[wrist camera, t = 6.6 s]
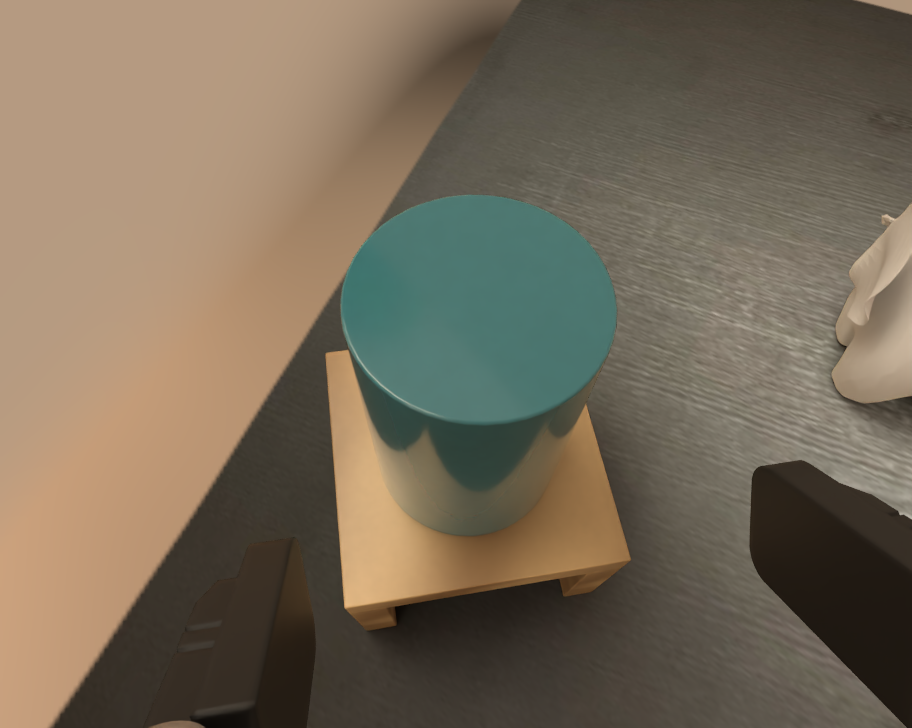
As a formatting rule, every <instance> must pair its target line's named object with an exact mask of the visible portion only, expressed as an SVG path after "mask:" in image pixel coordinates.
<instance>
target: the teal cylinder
mask: <svg viewBox="0 0 912 728" xmlns="http://www.w3.org/2000/svg"><path fill="white" fill-rule="evenodd" d="M340 316H341V322H342V328H343V333H344V337H345V341H346V344H347V348H348V352H349V356H350V359H351V363H352V367H353V371H354V374H355V378H356V382H357V386H358V389H359V393H360V397H361V401H362V404H363V408H364V412H365V416H366V419H367V423H368V427H369V431H370V434H371V438H372V442H373V446H374V449H375V453H376V457H377V461H378V464H379V468H380V472H381V475H382V478H383V481H384V483H385V485H386V487H387V489H388V491H389V493H390V495H391V496H392V498H393V499H394V500H395V502H396V503H397V504H398V505H399V506H400V507H401V509H402V510H403V511H404V512H406V513H407V514H408V515H409V516H410V517H411V518H413V519H414V520H416V521H417V522H419V523H421V524H422V525H424V526H426V527H428V528H431V529H433V530H435V531H439V532H442V533H445V534H450V535H456V536H478V535H485V534H489V533H494V532H497V531H499V530H502V529H505V528H507V527H509V526H510V525H512V524H514V523H516V522H517V521H519V520H520V519H522V518H523V517H524V516H526V515H527V514H528V513H529V512H530V511H531V510H532V509H533V508H534V507H535V506H536V504H537V503H538V502H539V500H540V499H541V498H542V496H543V494H544V492H545V491H546V489H547V487H548V485H549V483H550V480H551V478H552V476H553V474H554V472H555V470H556V467H557V465H558V463H559V461H560V459H561V456H562V454H563V452H564V450H565V448H566V446H567V443H568V441H569V439H570V437H571V435H572V433H573V430H574V428H575V426H576V424H577V422H578V420H579V417H580V415H581V413H582V411H583V409H584V407H585V404H586V402H587V400H588V398H589V396H590V394H591V391H592V389H593V387H594V385H595V383H596V380H597V378H598V376H599V374H600V372H601V370H602V367H603V365H604V363H605V361H606V359H607V357H608V354H609V351H610V349H611V346H612V344H613V341H614V336H615V332H616V327H617V303H616V295H615V292H614V288H613V284H612V280H611V278H610V276H609V273H608V271H607V269H606V267H605V265H604V263H603V262H602V260H601V258H600V257H599V255H598V253H597V252H596V251H595V250H594V248H593V247H592V246H591V245H590V243H589V242H588V241H587V240H586V239H585V238H584V237H583V236H582V235H581V234H580V233H579V232H578V231H577V230H575V229H574V228H573V227H571V226H570V225H569V224H567V223H566V222H565V221H563V220H562V219H560V218H558V217H557V216H555V215H553V214H552V213H550V212H547V211H545V210H543V209H541V208H539V207H537V206H534V205H531V204H528V203H525V202H522V201H519V200H515V199H510V198H506V197H500V196H492V195H457V196H450V197H444V198H439V199H435V200H432V201H428V202H425V203H422V204H419V205H417V206H414V207H412V208H409V209H407V210H406V211H404V212H402V213H400V214H398V215H396V216H395V217H393V218H392V219H390V220H389V221H387V222H386V223H384V224H383V225H382V226H381V227H379V228H378V229H377V230H376V231H375V232H374V233H373V234H372V235H371V236H370V237H369V238H368V239H367V240H366V241H365V242H364V244H363V245H362V246H361V248H360V249H359V251H358V252H357V254H356V255H355V257H354V258H353V260H352V262H351V264H350V267H349V269H348V271H347V273H346V276H345V280H344V283H343V286H342V293H341V300H340Z"/></svg>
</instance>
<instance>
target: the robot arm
mask: <svg viewBox="0 0 912 728" xmlns="http://www.w3.org/2000/svg"><path fill="white" fill-rule="evenodd" d="M750 553H751V557H752V561H753V563H754V566H755V568H756V570H757V572H758V574H759V576H760V577H761V578H762V580H763V581H764V582H765V583H766V584H767V585H768V586H769V587H770V588H771V589H772V590H773V591H774V592H775V593H776V594H777V595H778V596H779V597H780V598H781V599H782V600H783V601H784V603H785V604H786V605H787V606H788V607H789V608H790V609H791V610H792V611H793V612H794V613H795V614H796V615H797V616H798V617H799V618H800V619H801V620H802V621H803V622H804V623H805V624H806V625H807V626H808V627H809V628H810V629H811V630H812V631H813V632H814V633H815V634H816V635H817V636H818V637H819V638H820V639H821V640H822V641H823V642H824V643H825V644H826V645H827V646H828V647H829V648H830V650H831V651H832V652H833V653H834V654H835V655H836V656H837V657H838V658H839V659H840V660H841V661H842V662H843V663H844V664H845V665H846V666H847V667H848V668H849V669H850V670H851V671H852V672H853V673H854V674H855V675H856V676H857V677H858V678H859V679H860V680H861V681H862V682H863V683H864V684H865V685H866V686H867V687H868V688H869V689H870V690H871V691H872V692H873V693H874V694H875V695H876V696H877V698H878V699H879V700H880V701H881V702H882V703H883V704H884V705H885V706H886V707H887V708H888V709H889V710H890V711H891V712H892V713H893V714H894V715H895V716H896V717H897V718H898V719H899V720H900V721H901V722H902V723H903V724H904V725H905V726H906V727H907V728H912V520H911V519H910V518H908V517H906V516H905V515H899V512H898V511H897V510H895V509H894V508H892V507H891V506H889V505H887V504H886V503H884V502H883V501H881V500H879V499H878V498H876V497H875V496H873V495H871V494H868V493H865V492H862V491H860V490H857V489H854V488H852V487H849V486H846V485H843V484H841V483H839V482H837V481H836V480H834V479H832V478H831V477H829V476H828V475H826V474H825V473H823V472H822V471H820V470H818V469H817V468H815V467H814V466H812V465H811V464H809V463H807V462H805V461H802V460H798V461H791V462H785V463H778V464H772V465H766V466H760V467H758V468H757V469H756V470H755V471H754V473H753V477H752V490H751V517H750ZM185 629H186V631H185V632H184V633H183V634H182V637H181V639H180V641H179V644H178V646H177V653H176V654H174V656H173V658H172V660H171V663H170V665H169V667H168V670H167V672H166V674H165V677H164V679H163V682H162V684H161V686H160V689H159V691H158V693H157V696H156V698H155V700H154V703H153V705H152V707H151V710H150V712H149V715H148V717H147V719H146V722H145V724H144V726H143V728H306V727H307V719H308V711H309V703H310V694H311V686H312V678H313V670H314V662H315V651H316V639H315V625H314V618H313V612H312V607H311V602H310V597H309V592H308V587H307V582H306V577H305V572H304V566H303V561H302V556H301V551H300V547H299V544H298V541H297V539H296V538H295V537H293V538H287V539H280V540H274V541H267V542H261V543H254V544H250V545H249V546H248V548H247V551H246V553H245V556H244V559H243V562H242V565H241V568H240V571H239V574H238V577H236V578H230V579H224V580H218V581H217V582H216V583H215V584H214V585H213V586H212V587H211V588H210V589H209V590H208V591H207V592H206V593H205V594H204V595H203V596H202V597H201V598H200V599H199V600H198V601H197V602H196V604H195V606H194V608H193V611H192V613H191V615H190V618H189V620H188V623H187V625H186V627H185Z"/></svg>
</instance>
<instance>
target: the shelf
mask: <svg viewBox="0 0 912 728" xmlns="http://www.w3.org/2000/svg"><path fill="white" fill-rule="evenodd" d="M326 368H327V381H328V394H329V408H330V421H331V434H332V447H333V461H334V474H335V487H336V501H337V514H338V527H339V541H340V554H341V567H342V581H343V594H344V607H345V609H346V610H347V611H348V612H349V613H350V614H351V615H352V616H353V617H354V618H355V619H356V620H357V621H358V622H359V623H360V624H361V625H362V626H363V627H364V628H365V630H367V631H368V630H374V629H380V628H386V627H392V626H396V625H397V621H396V612H395V606H400V605H406V604H412V603H418V602H424V601H430V600H436V599H441V598H447V597H453V596H459V595H465V594H471V593H477V592H483V591H488V590H494V589H500V588H506V587H512V586H518V585H524V584H530V583H535V582H541V581H547V580H553V579H559V580H560V584H561V588H562V593H563V596H571V595H576V594H582V593H588V592H592V591H593V590H594V589H596V588H597V587H598V586H599V585H601V584H602V583H603V582H604V581H606V580H607V579H608V578H609V577H610V576H612V575H613V574H614V573H615V572H617V571H618V570H619V569H620V568H622V567H623V566H624V565H626V564H627V563H628V562H629V561H631V558H630V554H629V551H628V547H627V544H626V540H625V537H624V533H623V530H622V526H621V523H620V520H619V516H618V513H617V509H616V506H615V502H614V499H613V495H612V492H611V488H610V485H609V482H608V478H607V475H606V471H605V468H604V464H603V461H602V457H601V454H600V450H599V447H598V443H597V440H596V437H595V433H594V430H593V426H592V423H591V419H590V416H589V412H588V409H587V405H586V404H585V407H584V409H583V411H582V413H581V415H580V417H579V420H578V422H577V424H576V426H575V428H574V430H573V433H572V435H571V437H570V439H569V441H568V443H567V446H566V448H565V450H564V452H563V454H562V456H561V459H560V461H559V463H558V465H557V467H556V470H555V472H554V474H553V476H552V478H551V480H550V483H549V485H548V487H547V489H546V491H545V492H544V494H543V496H542V498H541V499H540V500H539V502H538V503H537V504H536V506H535V507H534V508H533V509H532V510H531V511H530V512H529V513H528V514H527V515H526V516H524V517H523V518H522V519H520V520H519V521H517V522H516V523H514V524H512V525H510V526H509V527H507V528H505V529H502V530H499V531H497V532H494V533H489V534H485V535H478V536H456V535H450V534H445V533H442V532H439V531H435V530H433V529H431V528H428V527H426V526H424V525H422V524H421V523H419V522H417V521H416V520H414V519H413V518H411V517H410V516H409V515H408V514H407V513H406V512H404V511H403V510H402V509H401V507H400V506H399V505H398V504H397V503H396V502H395V500H394V499H393V498H392V496H391V495H390V493H389V491H388V489H387V487H386V485H385V483H384V481H383V478H382V475H381V472H380V468H379V464H378V461H377V457H376V453H375V449H374V446H373V442H372V438H371V434H370V431H369V427H368V423H367V419H366V416H365V412H364V408H363V404H362V401H361V397H360V393H359V389H358V386H357V382H356V378H355V374H354V371H353V367H352V363H351V359H350V356H349V352H348V350H345V351H337V352H330V353H326Z"/></svg>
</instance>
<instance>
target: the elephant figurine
mask: <svg viewBox="0 0 912 728" xmlns="http://www.w3.org/2000/svg"><path fill="white" fill-rule="evenodd" d="M882 224H883V225H886V226H888V228H887V229H886V230H885V232H884V233H883V234H882V235H881V236H880V237H879V238H878V239H877V240H876V241H875V243H874V244H873V245H872V246H871V247H870V248H869V249H868V250H867V251H866V252H865V253H864V254H863V255H862V256H861V257H860V258H859V259H858V260H857V261H856V262H855V263H854V264H853V266H852V268H851V270H850V271H849V277H850V279H851V280H852V282H853V283H854V285H855V288H854V289H853V291H852V292H851V294H850V295H849V297H848V299H847V300H846V303H845V305H844V307H843V309H842V312H841V314H840V316H839V318H838V320H837V322H836V326H835V329H836V335H837V339H838V341H839V342H840V343H841V344H843V345H845V346H848V347H847V348H846V350H845V352H844V354H843V356H842V357H841V359H840V360H839V362H838V363H837V365H836V366H835V367H834V369H833V371H832V378H833V381H834V384H835V387H836V389H837V390H838V391H839V392H840V394H841V395H842V396H844V397H846V398H849V399H851V400H854V401H857V402H860V403H872V402H881V401H887V400H892V399H897V398H902V397H908V396H912V203H911V204H910V205H909V206H908V207H907V209H906V210H905V211H904V212H903V213H902V215H900V216H899V217H898V218H897V219H894V218H891V217H889V215H888V214H887V215H883V216H882Z"/></svg>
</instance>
